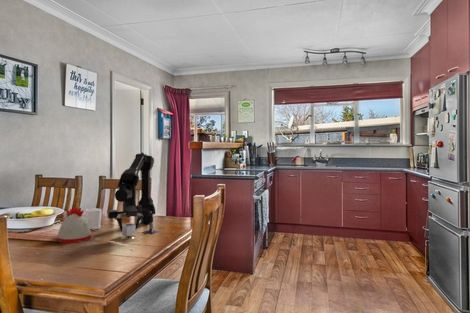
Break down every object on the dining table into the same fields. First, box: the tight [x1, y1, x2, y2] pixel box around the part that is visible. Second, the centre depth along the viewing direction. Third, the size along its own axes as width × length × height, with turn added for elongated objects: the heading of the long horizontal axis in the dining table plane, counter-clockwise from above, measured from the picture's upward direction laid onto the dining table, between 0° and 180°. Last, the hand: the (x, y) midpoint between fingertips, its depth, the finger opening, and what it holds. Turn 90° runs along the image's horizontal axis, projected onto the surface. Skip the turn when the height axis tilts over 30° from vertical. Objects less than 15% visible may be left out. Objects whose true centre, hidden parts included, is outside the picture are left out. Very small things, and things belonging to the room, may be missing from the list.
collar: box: [120, 222, 137, 236], centre depth 144 cm, size 6×6×4 cm
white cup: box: [85, 208, 103, 231], centre depth 162 cm, size 8×8×10 cm
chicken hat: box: [57, 206, 92, 244], centre depth 143 cm, size 14×14×15 cm
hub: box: [120, 234, 137, 240], centre depth 144 cm, size 7×7×5 cm
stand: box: [140, 222, 161, 236], centre depth 154 cm, size 7×7×6 cm
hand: (128, 230), depth 144 cm, fingers closed on collar, 6 cm apart
